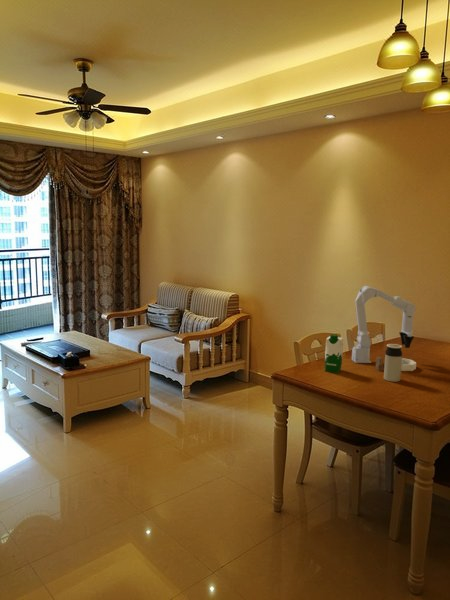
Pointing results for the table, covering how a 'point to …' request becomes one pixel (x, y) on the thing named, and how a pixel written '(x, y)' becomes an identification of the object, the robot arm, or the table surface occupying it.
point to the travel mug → (393, 363)
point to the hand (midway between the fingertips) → (405, 346)
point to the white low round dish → (408, 365)
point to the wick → (379, 363)
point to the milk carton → (333, 353)
